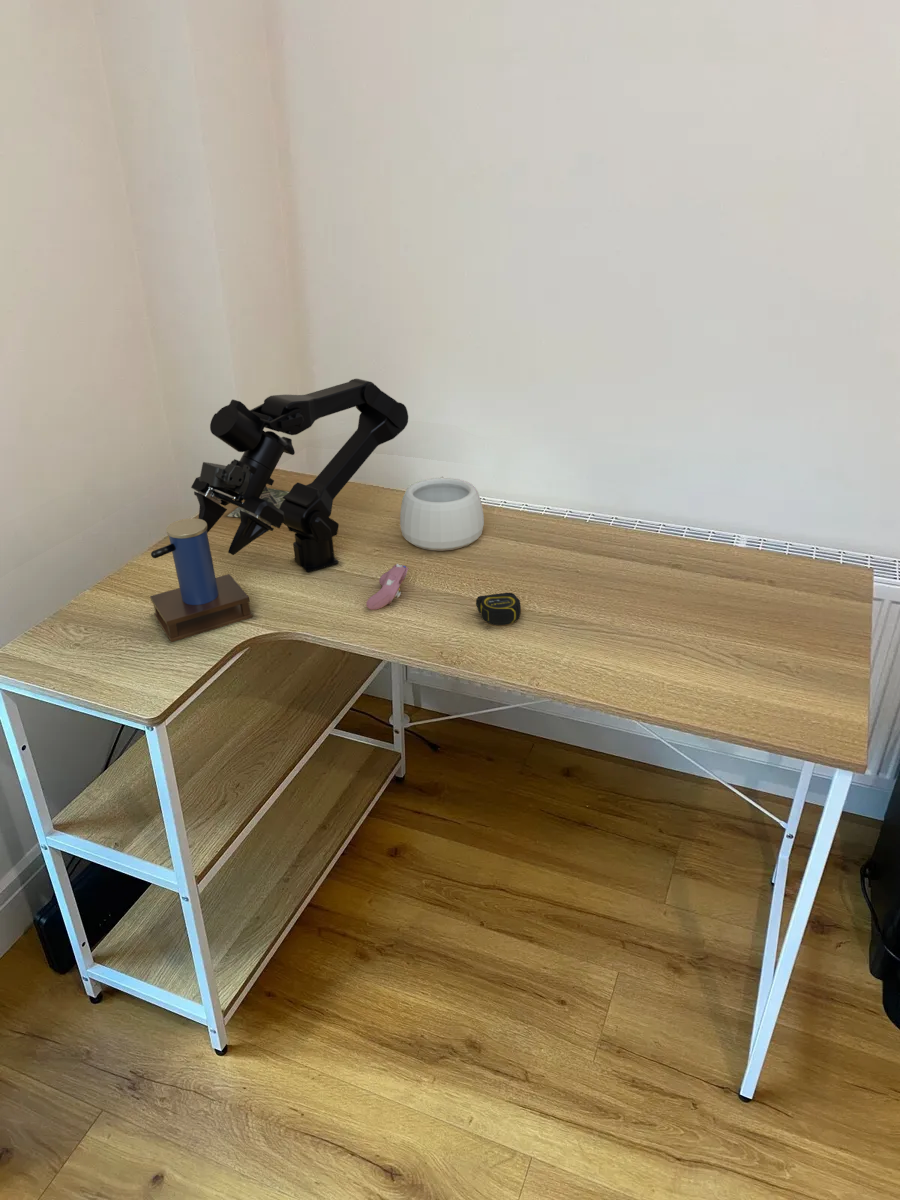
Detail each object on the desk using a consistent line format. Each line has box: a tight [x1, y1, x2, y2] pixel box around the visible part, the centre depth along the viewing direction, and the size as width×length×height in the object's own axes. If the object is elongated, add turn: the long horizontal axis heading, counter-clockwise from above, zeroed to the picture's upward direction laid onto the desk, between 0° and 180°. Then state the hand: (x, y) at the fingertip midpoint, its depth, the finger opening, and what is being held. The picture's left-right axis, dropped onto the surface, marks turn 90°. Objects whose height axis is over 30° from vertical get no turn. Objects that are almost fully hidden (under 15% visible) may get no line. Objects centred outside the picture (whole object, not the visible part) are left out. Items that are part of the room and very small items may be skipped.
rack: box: [149, 573, 253, 643], centre depth 146 cm, size 14×10×4 cm
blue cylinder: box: [150, 517, 218, 605], centre depth 141 cm, size 10×6×13 cm, turn 139°
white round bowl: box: [399, 476, 485, 552], centre depth 172 cm, size 21×17×10 cm
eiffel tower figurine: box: [227, 485, 290, 518], centre depth 184 cm, size 15×10×13 cm
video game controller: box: [365, 563, 409, 611], centre depth 150 cm, size 10×5×7 cm, turn 168°
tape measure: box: [475, 592, 522, 626], centre depth 143 cm, size 7×7×4 cm
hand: (214, 546), depth 144 cm, fingers open, 9 cm apart
